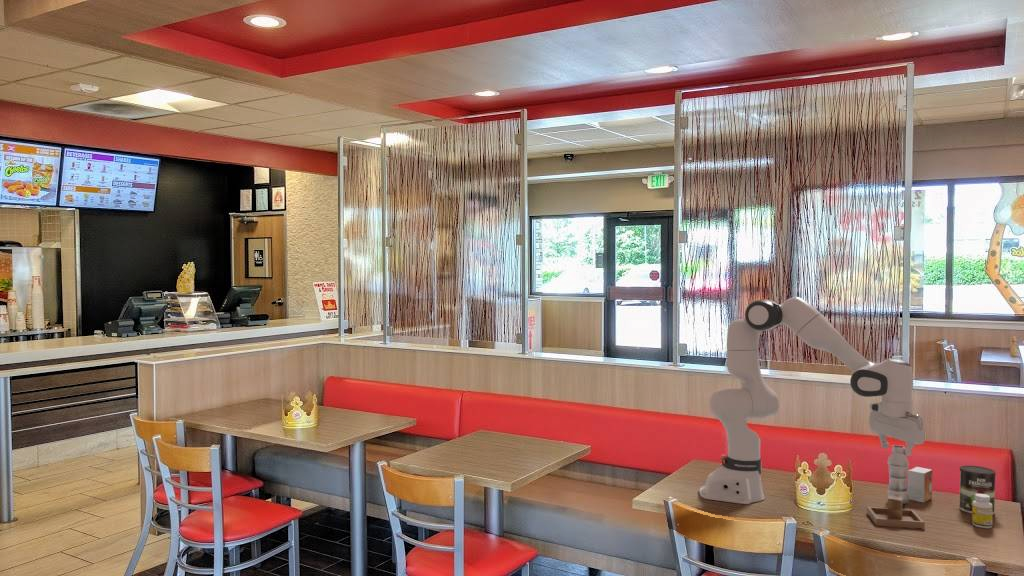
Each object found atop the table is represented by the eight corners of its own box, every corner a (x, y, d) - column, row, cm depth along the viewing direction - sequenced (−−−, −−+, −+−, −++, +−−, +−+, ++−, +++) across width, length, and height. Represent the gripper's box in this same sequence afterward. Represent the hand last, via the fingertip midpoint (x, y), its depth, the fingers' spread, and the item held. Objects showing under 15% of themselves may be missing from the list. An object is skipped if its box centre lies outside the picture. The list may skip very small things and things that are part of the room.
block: (887, 519, 236) (887, 498, 235) (888, 516, 239) (888, 495, 239) (901, 522, 233) (901, 500, 233) (902, 518, 237) (902, 497, 237)
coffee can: (998, 517, 240) (999, 474, 240) (962, 513, 244) (963, 471, 243) (990, 507, 250) (991, 466, 249) (955, 504, 253) (956, 464, 253)
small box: (924, 503, 254) (924, 473, 254) (906, 499, 258) (907, 470, 258) (932, 498, 260) (933, 469, 259) (915, 495, 264) (916, 466, 264)
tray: (876, 525, 232) (876, 518, 232) (867, 513, 244) (867, 506, 244) (924, 529, 229) (924, 522, 229) (912, 516, 240) (913, 510, 240)
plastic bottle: (911, 506, 250) (912, 449, 250) (890, 505, 252) (890, 448, 251) (905, 500, 257) (906, 444, 256) (884, 499, 258) (885, 443, 258)
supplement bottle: (973, 521, 236) (973, 491, 236) (993, 525, 233) (993, 495, 232) (970, 526, 232) (971, 495, 232) (991, 530, 228) (991, 499, 228)
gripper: (930, 415, 226) (929, 459, 227) (881, 402, 246) (880, 443, 246) (914, 416, 224) (912, 460, 225) (866, 403, 244) (865, 444, 245)
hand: (895, 451), depth 236 cm, fingers open, 8 cm apart
